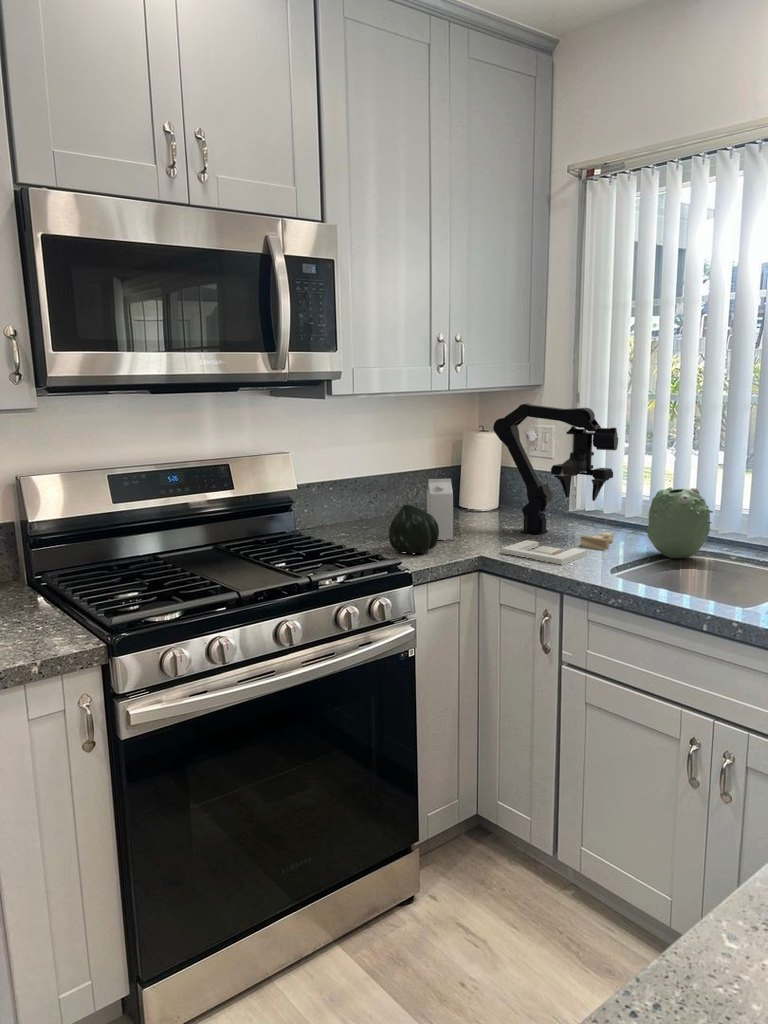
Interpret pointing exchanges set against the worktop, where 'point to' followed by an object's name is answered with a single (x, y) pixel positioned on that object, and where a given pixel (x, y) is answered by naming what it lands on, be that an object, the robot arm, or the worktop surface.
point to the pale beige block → (547, 550)
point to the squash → (413, 530)
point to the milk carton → (441, 505)
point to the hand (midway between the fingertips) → (580, 499)
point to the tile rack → (558, 558)
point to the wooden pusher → (597, 541)
